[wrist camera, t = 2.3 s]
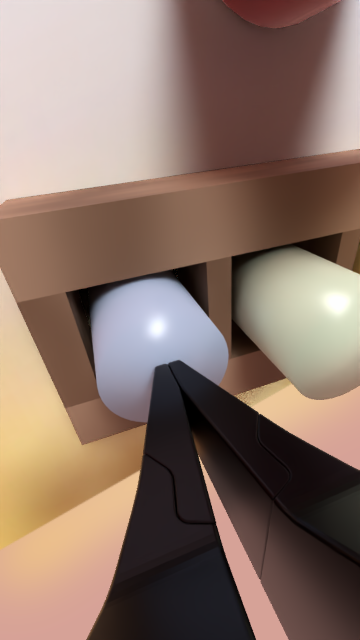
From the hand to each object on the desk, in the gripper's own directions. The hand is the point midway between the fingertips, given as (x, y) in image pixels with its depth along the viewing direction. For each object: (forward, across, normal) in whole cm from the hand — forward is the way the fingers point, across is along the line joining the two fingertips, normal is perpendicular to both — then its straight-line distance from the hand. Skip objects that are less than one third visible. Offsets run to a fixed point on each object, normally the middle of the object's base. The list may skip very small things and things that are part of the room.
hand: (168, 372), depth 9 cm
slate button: (+6, 0, 0) cm, 6 cm away
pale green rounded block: (+5, -6, 0) cm, 7 cm away
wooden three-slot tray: (+6, -6, 0) cm, 9 cm away
